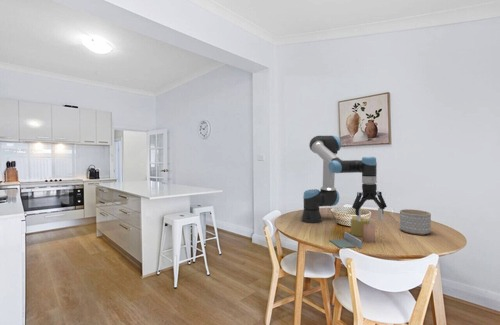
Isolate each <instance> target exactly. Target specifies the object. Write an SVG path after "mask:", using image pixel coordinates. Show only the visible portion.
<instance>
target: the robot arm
mask: <svg viewBox="0 0 500 325" xmlns="http://www.w3.org/2000/svg"><path fill="white" fill-rule="evenodd" d="M308 144H309V145H308V146H309V150H310V151H311V152H312V153H314V154H316V155H318V157H319V158H321V159H322V162H323V163H322V186H321V187H320V189H317V188H316V189H315V188H314V189H313V188H312V189H307V190H305V191H304V192H303V211H302V214H301V217H300V218H301V221H302V222H305V223H308V224H309V223H310V224H318V223H322V220H323V217H322V215H321V212H320V207H332V206H333V207H334V206H336V205H338V203H339V201H340V192H339V191H338V190H337V188H336V187H335V177H336V176H335V174H347V173H348V174H350V173H351V174H352V173H353V174H354V173H357V174H358V173H359V174H361V183H362V184H361V190H362V191H361V192H359V191H357V192H356V198H355V199H354V202H353V204H352V206H351V208H352V209H353V210H355V211H354V212H355V216H357V221H359V222H361V217H362V214H361V208H362V206H363V205H364V204H365V202H366V201H370V200H371V201H373V202H374V203H375V204H376V206H378V208H377V210H378V211H377V218H378V220H380V221H383V215H384V210H385V209H386V208H387V207H388V206H387V203H386V202H385V199H384V197H383V194H382V191H379V190H378V189H377V188H378V187H377V186H378V184H377V182H378V181H377V180H378V179H377V175H378V174H377V171H378V170H377V168H378V166H377V165H378V164H377V157H376V156H362V158H361V160H360V159H359V160H358V159H354V160H351V159H350V160H344V159H343V160H342V159H341V158H340V157H339V156H337V155H338V151H340V150H341V148H342V143H341V140H340V138H339V136H337V135H315V136H313V137H312V138H311V139H310V141H309V143H308Z"/></svg>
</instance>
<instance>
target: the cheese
mask: <svg viewBox="0 0 500 325" xmlns="http://www.w3.org/2000/svg"><path fill="white" fill-rule="evenodd" d="M364 224H370V220H369V218H365V217H362V216H361V222H359V221H357V215H352V218H351V219H350V234H351V235H352V236H354V237H361V238H363V225H364Z"/></svg>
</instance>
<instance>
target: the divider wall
mask: <svg viewBox="0 0 500 325" xmlns="http://www.w3.org/2000/svg"><path fill="white" fill-rule="evenodd" d="M343 235H344V238H343V239H345V240H346V241H347V240H348V242H350V243H351V244H353V245H354V246H356V247H357V248H359V249H363V241H362V240H361V239H359V238H357V236H355V235H351V233H349V232H346V231H344V234H343Z"/></svg>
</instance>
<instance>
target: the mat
mask: <svg viewBox="0 0 500 325" xmlns="http://www.w3.org/2000/svg"><path fill="white" fill-rule="evenodd" d="M329 242H330V243H331V244H333V245H335V247H337V248H338V249H340V248H341V249H344V248H343V247H347V248H346V249H351V248H356V247H357V246H355V245H354V244H352V243H351V242H349V241H347V240H346V239H344V238H335V239H329Z"/></svg>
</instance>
